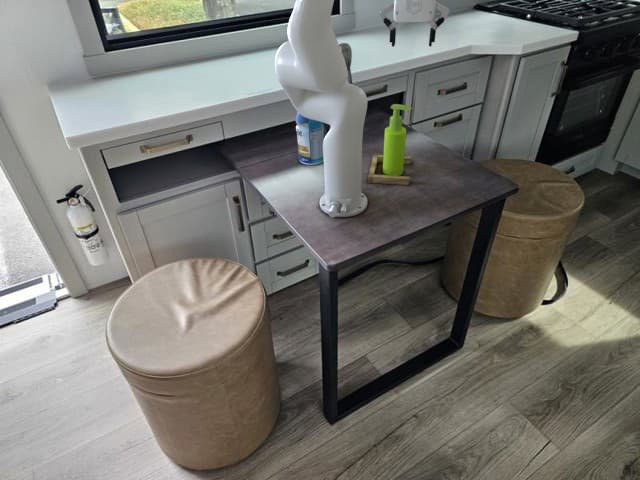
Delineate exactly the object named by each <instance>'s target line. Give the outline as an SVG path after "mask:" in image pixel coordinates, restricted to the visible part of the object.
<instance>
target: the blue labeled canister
mask: <svg viewBox="0 0 640 480" xmlns="http://www.w3.org/2000/svg"><path fill="white" fill-rule="evenodd" d="M295 123H296V126H295V132H296V139H297V150H298V160H299V162H300V163H301V164H302V165H306V166H315V165H319V164H321V163H324V158H323V141H324V138H325V134H324V133H325V132H324V131H325V125H324V123H323V122H320V121H316V120H312V119H308V118H305V117H303V116H302V115H300V114H299V113H298V112H297V113H296V117H295Z"/></svg>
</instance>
